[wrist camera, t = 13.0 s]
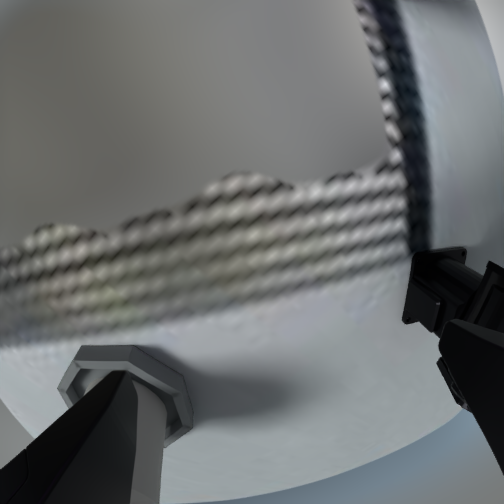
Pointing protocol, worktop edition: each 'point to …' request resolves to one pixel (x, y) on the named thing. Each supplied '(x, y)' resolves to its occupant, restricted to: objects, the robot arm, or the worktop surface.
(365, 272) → the worktop surface
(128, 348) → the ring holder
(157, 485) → the can
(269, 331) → the worktop surface
